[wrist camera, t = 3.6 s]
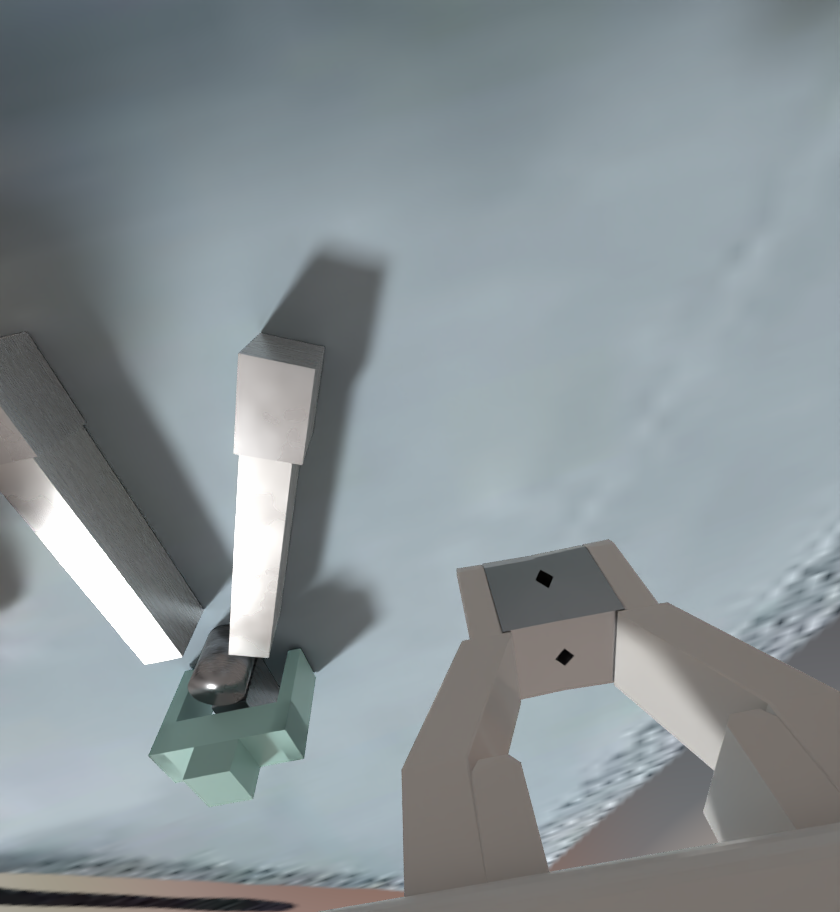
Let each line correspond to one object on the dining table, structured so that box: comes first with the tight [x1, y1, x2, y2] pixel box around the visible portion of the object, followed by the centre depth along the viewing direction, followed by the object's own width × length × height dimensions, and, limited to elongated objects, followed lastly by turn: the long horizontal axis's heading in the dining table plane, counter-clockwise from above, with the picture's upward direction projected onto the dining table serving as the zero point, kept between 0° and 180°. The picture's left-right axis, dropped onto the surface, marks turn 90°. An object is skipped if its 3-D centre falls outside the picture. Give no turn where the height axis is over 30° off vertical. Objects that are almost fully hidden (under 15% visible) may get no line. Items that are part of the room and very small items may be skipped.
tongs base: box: [0, 331, 280, 714], centre depth 21 cm, size 25×4×3 cm, turn 11°
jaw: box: [229, 333, 325, 658], centre depth 20 cm, size 16×3×3 cm, turn 166°
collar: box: [148, 648, 316, 807], centre depth 24 cm, size 3×7×6 cm, turn 101°
